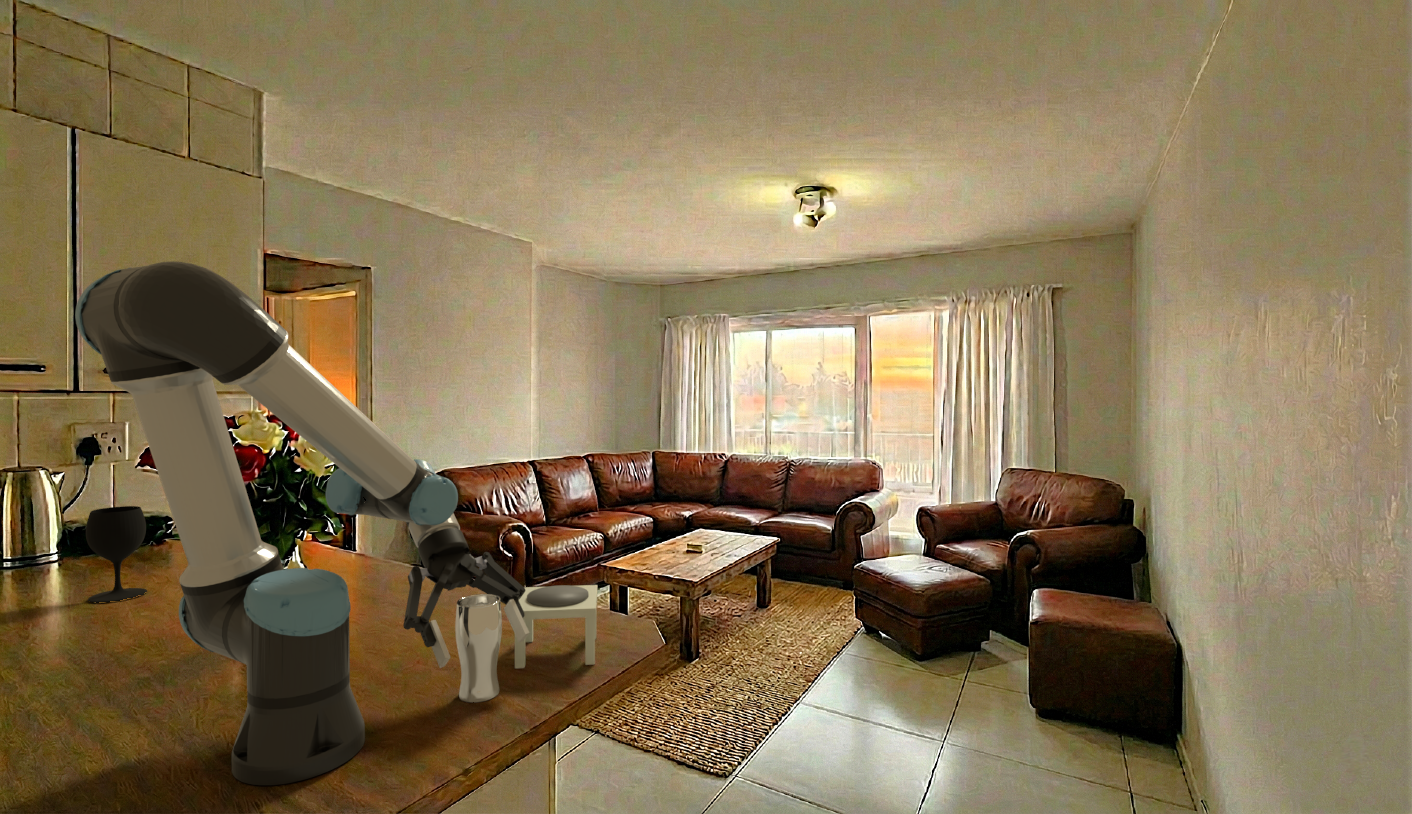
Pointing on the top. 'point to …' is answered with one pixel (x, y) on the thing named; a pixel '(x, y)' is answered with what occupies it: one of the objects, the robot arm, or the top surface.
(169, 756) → the top surface
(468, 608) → the beer glass
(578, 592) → the stool
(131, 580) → the top surface
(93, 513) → the wine glass
